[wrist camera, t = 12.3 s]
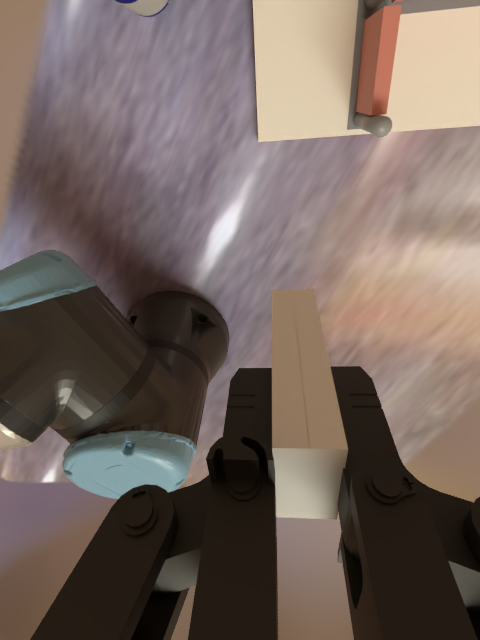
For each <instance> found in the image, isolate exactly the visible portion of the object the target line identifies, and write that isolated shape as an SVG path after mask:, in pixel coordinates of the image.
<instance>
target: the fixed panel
mask: <svg viewBox="0 0 480 640" xmlns="http://www.w3.org/2000/svg"><path fill="white" fill-rule="evenodd" d="M401 7H402V5H393V6H384V7H383V8H381V9H380V10H379V11H377V12H376V13H375V14H373V15H372V16H371V17H369V18H368V19H366V20H365V22H364V32H363V43H362V53H361V63H360V74H359V84H358V94H357V105H356V112H359V113H363V114H367V115H371V116H372V115H385V114H387V107H388V100H389V93H390V86H391V79H392V71H393V64H394V57H395V50H396V43H397V36H398V29H399V21H400V14H401Z"/></svg>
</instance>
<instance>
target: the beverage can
mask: <svg viewBox="0 0 480 640" xmlns="http://www.w3.org/2000/svg"><path fill="white" fill-rule="evenodd" d="M113 1H115V2H117V3H118V4H120V5H122V6H124V7H125V8H127V9H129V10H131V11H133V12H134V13H136V14H138V15H141V16H144V17H154V16H157V15H159V14H161V13H162V12H163V11H164V10H165V9H166V8H167V7H168V5H169V3H170V1H171V0H113Z"/></svg>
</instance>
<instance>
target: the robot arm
mask: <svg viewBox="0 0 480 640" xmlns="http://www.w3.org/2000/svg"><path fill="white" fill-rule="evenodd" d="M228 346H229V332H228V328H227V326H226V323H225V321H224V320H223V318H222V317H221V315H220V314H219V313H218V312H217V311H216V310H215V309H214V308H213V307H212V306H211V305H210V304H208V303H207V302H205V301H204V300H202V299H200V298H198V297H196V296H193V295H190V294H187V293H182V292H160V293H156V294H153V295H150V296H148V297H146V298H144V299H143V300H141V301H140V302H139V303H138V304H137V305H136V306H135V307H134V309H133V310H132V312H131V313H130V315H129V317H128V318H127V320H126V318H125V317H124V316H123V315H122V314H121V313H120V312H119V310H118V309H117V308H116V307H115V306H114V305H113V304H112V302H111V301H110V300H109V299H108V298H107V297H106V296H105V294H104V293H103V292H102V291H101V290H100V289H99V287H98V286H97V282H96V281H95V280H92V279H91V278H90V277H89V276H88V275H87V274H86V273H85V272H84V271H83V270H82V269H81V268H80V267H79V266H78V265H77V264H76V263H75V262H74V261H73V260H72V259H71V258H70V257H69V256H68V255H66V254H64V253H62V252H60V251H56V250H46V251H41V252H39V253H36V254H34V255H32V256H30V257H28V258H25V259H23V260H21V261H19V262H17V263H15V264H13V265H11V266H9V267H7V268H5V269H2V270H0V451H1V450H3V449H9V448H16V447H23V446H29V445H31V444H32V443H33V442H34V441H35V440H36V439H37V438H38V437H39V436H40V435H41V434H42V433H43V432H44V431H45V430H46V429H47V428H48V427H51V428H52V429H54V430H55V431H56V432H57V433H59V434H60V435H61V436H62V437H63V438H64V439H66V440H67V441H68V442H69V443H70V446H68V448H67V449H66V450H65V453H64V460H63V468H64V473H65V475H66V476H67V477H68V479H69V480H71V481H72V482H73V483H74V484H76V485H77V486H79V487H80V488H82V489H85V490H87V491H89V492H91V493H94V494H97V495H101V496H104V497H109V498H114V499H118V500H117V502H116V503H115V504H114V505H113V506H112V508H111V509H110V511H109V513H108V515H107V516H106V518H105V519H104V521H103V522H102V524H101V526H100V527H99V529H98V531H97V532H96V534H95V535H94V537H93V539H92V540H91V542H90V543H89V545H88V547H87V548H86V550H85V552H84V553H83V555H82V557H81V558H80V560H79V562H78V563H77V565H76V566H75V568H74V569H73V571H72V573H71V574H70V576H69V578H68V579H67V581H66V582H65V584H64V586H63V588H62V589H61V591H60V592H59V594H58V595H57V597H56V599H55V600H54V602H53V604H52V605H51V607H50V609H49V610H48V612H47V613H46V615H45V617H44V618H43V620H42V622H41V623H40V625H39V626H38V628H37V630H36V631H35V633H34V634H33V636H32V638H31V639H30V640H171V636H172V634H173V632H174V629H175V626H176V623H177V621H178V618H179V615H180V612H181V610H182V607H183V604H184V601H185V599H186V596H187V593H188V590H189V588H190V587H192V586H195V585H196V589H195V596H194V603H193V609H192V617H191V623H190V629H189V636H188V640H278V596H277V595H278V592H277V540H276V539H277V537H276V517H288V518H314V519H337V515H338V511H339V518H340V524H341V530H342V532H341V538H340V543H339V549H338V562H340V563H341V562H343V568H344V575H345V582H346V588H347V595H348V602H349V609H350V615H351V622H352V629H353V635H354V640H480V497H479V498H477V499H476V500H475V502H474V503H473V502H470V501H467V500H464V499H461V498H457V497H454V496H451V495H448V494H445V493H441V492H439V491H437V490H434V489H432V488H429V487H428V486H426V485H424V484H423V483H421V482H420V481H418V480H417V479H416V478H415V477H414V476H413V475H412V474H411V473H410V472H409V471H408V470H407V469H406V468H405V466H404V465H403V463H402V461H401V459H400V457H399V455H398V452H397V449H396V446H395V443H394V440H393V438H392V435H391V432H390V429H389V426H388V423H387V420H386V418H385V415H384V412H383V409H382V408H381V403H380V400H379V398H378V397H377V392H376V389H375V386H374V383H373V380H372V378H371V377H370V376H369V375H368V374H367V373H366V372H365V371H364V370H363V369H362V368H361V367H360V366H354V367H330V363H329V358H328V353H327V349H326V344H325V339H324V335H323V330H322V326H321V321H320V316H319V312H318V307H317V302H316V298H315V293H314V289H305V290H272V368H239V369H238V371H237V372H236V373H235V375H234V376H233V378H232V379H231V381H230V389H229V397H228V403H227V410H226V418H225V425H224V432H223V437H222V438H220V439H218V440H217V441H216V442H215V444H214V445H213V446H212V447H211V448H210V450H209V453H208V455H207V458H206V461H207V465H208V470H209V475H208V476H207V477H206V478H204V479H203V480H202V481H200V482H198V483H196V484H193V485H191V486H188V487H185V488H181V489H178V490H176V489H177V488H179V487H180V486H181V485H182V483H183V482H184V481H185V479H186V477H187V475H188V472H189V469H190V465H191V461H192V458H193V456H194V454H195V453H196V445H197V440H198V434H199V429H200V424H201V419H202V414H203V408H204V403H205V398H206V393H207V387H208V384H209V383H210V381H211V380H212V378H213V377H214V376H215V374H216V373H217V372H218V370H219V369H220V368H221V366H222V365H223V363H224V361H225V359H226V356H227V352H228Z"/></svg>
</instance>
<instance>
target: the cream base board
mask: <svg viewBox="0 0 480 640" xmlns="http://www.w3.org/2000/svg"><path fill="white" fill-rule="evenodd" d="M393 5H402V7H401V14H400V21H399V29H398V36H397V43H396V50H395V57H394V64H393V71H392V79H391V86H390V93H389V100H388V107H387V114H385V115H372V116H371V115H367V114H363V113H359V112H356V105H357V94H358V84H359V74H360V63H361V53H362V43H363V32H364V22H365V20H366V19H368V18H369V17H371V16H372V15H373V14H375V13H376V12H377V11H379V10H380V9H381V8H383V7H384V6H393ZM253 19H254V44H255V69H256V94H257V119H258V142H265V141H278V140H292V139H305V138H318V137H332V136H345V135H359V134H374V135H376V136H379V137H383V136H385V135H387V134H388V133H389V132H399V131H412V130H426V129H439V128H453V127H466V126H480V0H404V1H400V2H395V3H392V0H253Z"/></svg>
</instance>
